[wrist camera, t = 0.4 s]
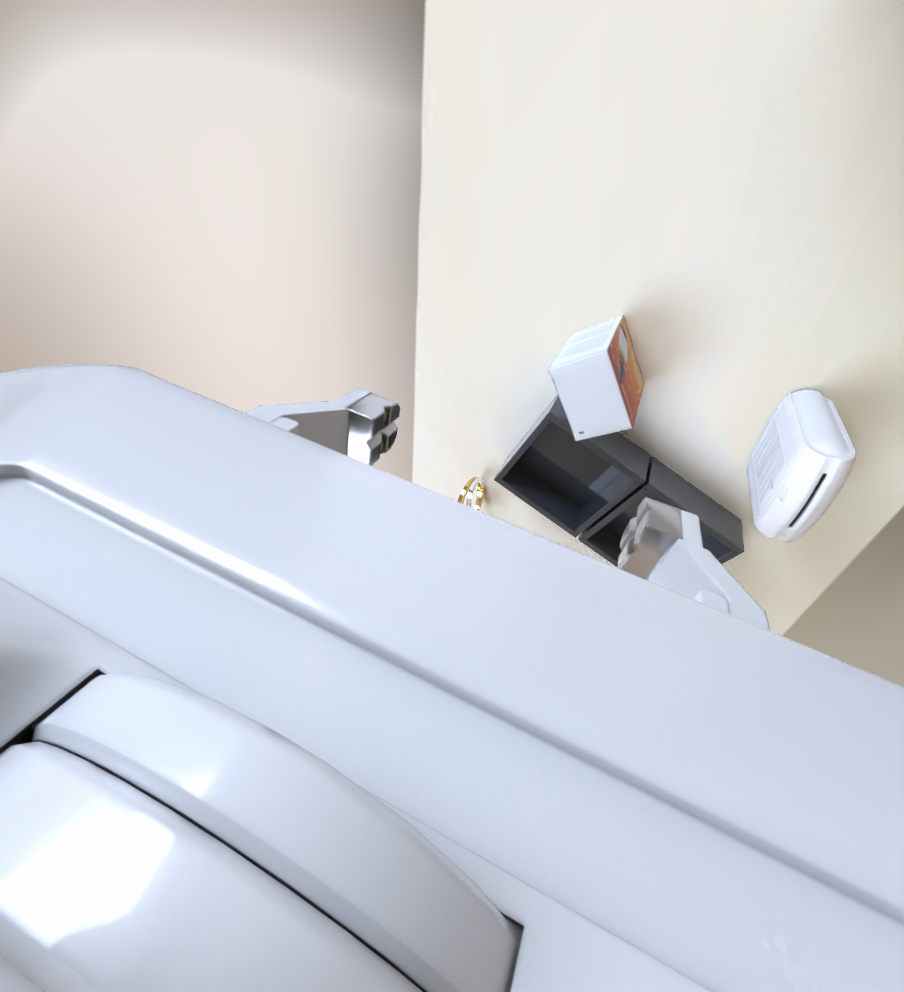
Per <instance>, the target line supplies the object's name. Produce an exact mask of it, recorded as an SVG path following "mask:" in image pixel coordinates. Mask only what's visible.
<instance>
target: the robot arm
mask: <svg viewBox="0 0 904 992" xmlns="http://www.w3.org/2000/svg"><path fill="white" fill-rule="evenodd" d="M399 412H400V406H399V404H398V403H396V402H394V401H391V400H389V399H386V398H384V397H381V396H379V395H376V394H374V393H372V392H369V391H366V390H364V389H361V388H356V389H354V390H352V391H350V392H349V393H347V394H345V395H343V396H342V397H340V398H338V399H336V400H335V401H333V402H328V401H322V402H307V403H291V404H276V405H261V406H258V407H256V408H254V409H252V410H250V411H248V412H245V413H243V412H240V411H238V410H236V409H233V408H231V407H228V406H226V405H223V404H221V403H219V402H216V401H214V400H211V399H209V398H207V397H204V396H202V395H199V394H197V393H195V392H192V391H190V390H188V389H185V388H183V387H180V386H178V385H176V384H173V383H170V382H168V381H166V380H163V379H161V378H159V377H157V376H155V375H152V374H150V373H148V372H145V371H143V370H140V369H138V368H134V367H126V366H114V365H82V364H81V365H79V364H71V365H49V366H41V367H34V368H27V369H22V370H17V371H12V372H6V373H2V374H0V992H904V687H903V686H901V685H898V684H896V683H894V682H891V681H889V680H886V679H883V678H881V677H879V676H877V675H874V674H872V673H869V672H867V671H864V670H862V669H860V668H857V667H855V666H852V665H850V664H848V663H845V662H843V661H840V660H838V659H836V658H833V657H831V656H828V655H826V654H824V653H821V652H819V651H816V650H814V649H812V648H809V647H807V646H804V645H802V644H799V643H797V642H795V641H792V640H790V639H787V638H785V637H783V636H780V635H778V634H775V633H773V632H771V630H770V627H769V623H768V619H767V615H766V612H765V611H764V610H763V609H762V608H761V607H760V605H759V604H758V603H757V602H756V601H755V600H754V599H753V598H752V597H751V596H750V595H749V594H748V592H747V591H746V590H745V589H744V588H743V587H742V586H741V585H740V584H739V583H738V582H737V581H736V580H735V578H734V577H733V576H732V575H731V574H730V573H729V572H728V571H727V570H726V569H725V568H724V567H723V565H722V564H721V563H720V562H719V561H718V560H717V559H716V558H715V557H714V556H713V555H712V554H711V552H710V551H709V550H707V549H704V548H703V543H702V536H701V529H700V522H699V517H698V516H697V515H695V514H692V513H689V512H686V511H683V510H681V509H678V508H676V507H673V506H670V505H667V504H664V503H661V502H659V501H656V500H653V499H650V498H647V497H644V499H643V500H642V501H641V503H640V504H639V506H638V507H637V515H636V517H635V518H632V519H630V521H629V523H628V524H627V526H626V528H625V530H624V533H623V535H622V538H621V542H620V549H621V550H622V552H621V553H620V555H619V557H618V566H617V568H616V567H614V566H611V565H609V564H607V563H604V562H602V561H599V560H597V559H595V558H592V557H590V556H587V555H585V554H583V553H580V552H578V551H575V550H573V549H570V548H568V547H566V546H563V545H561V544H558V543H556V542H554V541H551V540H549V539H546V538H544V537H542V536H539V535H537V534H534V533H532V532H529V531H527V530H525V529H522V528H520V527H517V526H515V525H513V524H510V523H508V522H505V521H503V520H501V519H498V518H496V517H493V516H491V515H489V514H486V513H484V512H481V511H479V510H477V509H474V508H472V507H469V506H467V505H465V504H462V503H460V502H457V501H455V500H452V499H450V498H448V497H445V496H443V495H440V494H438V493H436V492H433V491H431V490H428V489H426V488H424V487H421V486H419V485H416V484H414V483H412V482H409V481H407V480H404V479H402V478H400V477H397V476H395V475H392V474H390V473H388V472H385V471H383V470H380V469H378V468H376V467H373V466H371V465H373V464H374V463H375V462H376V461H377V460H378V459H379V457H380V454H381V453H386V452H387V451H388V450H389V449H391V447H392V445H393V443H394V441H395V438H396V435H397V426H396V424H395V422H394V420H396V419H397V418H398V417H399Z"/></svg>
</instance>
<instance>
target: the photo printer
mask: <svg viewBox="0 0 904 992" xmlns="http://www.w3.org/2000/svg"><path fill="white" fill-rule="evenodd" d="M855 456H856V451H855V449H854V447H853V444H852V442H851V440H850V438H849V435H848V433H847V431H846V429H845V427H844V424H843V422H842V420H841V418H840V416H839V414H838V411H837V409H836V407H835V405H834V403H833V402H832V401H831V400H830V399H826V397H825V396H824V395H823V394H821V393H820V392H817V391H813V390H800V391H796V392H793V393H792V394H791V393H788V394H787V395H786V396H785V398H784V399H783V400H782V401H781V403H780V404H779V406H778V407H777V409H776V411H775V412H774V414H773V416H772V418H771V420H770V421H769V423H768V425H767V427H766V429H765V430H764V432H763V434H762V436H761V438H760V440H759V442H758V444H757V446H756V447H755V449H754V451H753V454H752V456H751V458H750V460H749V463H748V467H747V476H748V483H749V491H750V498H751V507H752V514H753V522H754V525H755V527H756V528H757V530H758V531H759V532H760V533H761V534H763V535H764V536H765V537H767V538H769V539H775V540H779V541H782V542H791V541H793V540H795V539H797V538H798V537H800V536H801V535H803V534H804V533H805V532H807V531H808V530H809V529H810V528H811V527H812V526H813V525H814V524H815V523H816V522H817V521H818V519H819V518H820V517H821V516H822V515H823V513H824V512H825V511H826V510H827V508H828V507H829V506H830V504H831V503H832V501H833V500H834V499H835V497H836V496H837V494H838V493H839V491H840V489H841V488H842V486H843V485H844V483H845V481H846V479H847V477H848V475H849V474H850V471H851V469H852V467H853V464H854V460H855Z"/></svg>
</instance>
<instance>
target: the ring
mask: <svg viewBox="0 0 904 992" xmlns="http://www.w3.org/2000/svg"><path fill="white" fill-rule="evenodd" d="M477 484H478V487H477V491H478V494H477V500H476V504H475V507H474V509H477V510H479V511H480V508H481V504H482V499H483V493H484V489H485V485H484V480H483V479H481V478H479V477H473V478H472V479H471V480H469V481H468V483H467V484H466V485H465V487H464V488H463V490H462V492H461V494H460V496H459V499H458V502H460V503H462V504H463V503H464V499H465V496H466V494H467V492H468V495H467V506H469V507H471V498H472V493H473V491H474V488H475V486H476V485H477ZM468 490H469V491H468Z"/></svg>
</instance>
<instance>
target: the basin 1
mask: <svg viewBox="0 0 904 992" xmlns="http://www.w3.org/2000/svg"><path fill="white" fill-rule="evenodd" d="M649 457H650V454H648V453H647V452H645V451H644V450H643V449H641V448H640V447H638V446H637V445H636V444H634V443H633V442H631V441H630V440H629V439H627V438H626V437H625V436H623V435H622V434H620V433H619V432H614V433H609V434H605V435H601V436H596V437H592V438H587V439H583V440H578V441H575V439H574V435H573V432H572V429H571V426H570V424H569V421H568V418H567V416H566V413H565V410H564V408H563V405H562V403H561V400H560V398H559V395H557V396H556V397H555V398H554V400H553V401H552V402H551V403H550V405H549V406H548V407H547V408H546V410H545V411H544V412H543V413H542V415H541V416H540V417H539V418H538V420H537V421H536V422H535V423H534V425H533V426H532V427H531V428H530V430H529V431H528V432H527V433H526V435H525V436H524V437H523V438H522V440H521V441H520V442H519V443H518V445H517V446H516V447H515V448H514V450H513V451H512V452H511V453H510V455H509V456H508V457H507V459H506V460H505V462H504V464H503V465H502V467H501V469H500V470H499V472H498V474H497V475H496V477H495V479H494V480H495V481H496V482H498V483H499V484H501V485H502V486H503V487H505V488H506V489H508V490H509V491H510V492H512V493H513V494H515V495H516V496H517V497H519V498H520V499H522V500H523V501H524V502H526V503H527V504H529V505H530V506H531V507H533V508H534V509H536V510H537V511H539V512H540V513H541V514H543V515H544V516H546V517H547V518H548V519H550V520H551V521H553V522H554V523H555V524H557V525H558V526H560V527H561V528H562V529H564V530H565V531H567V532H568V533H569V534H571V535H572V536H574V537H576V536H578V535H579V534H580V533H581V532H583V531H584V530H585V529H586V528H588V527H589V526H590V525H591V524H593V523H594V522H595V521H596V520H598V519H599V518H600V517H601V516H603V515H604V514H605V513H606V512H608V511H609V510H610V509H611V508H613V507H614V506H615V505H616V504H618V503H619V502H620V501H621V500H622V499H624V498H625V497H626V496H627V495H629V494H630V493H631V492H632V491H634V490H635V489H636V488H637V487H639V486H640V485H641V484H643V483H644V482H645V481H646V476H647V470H648V464H649Z"/></svg>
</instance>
